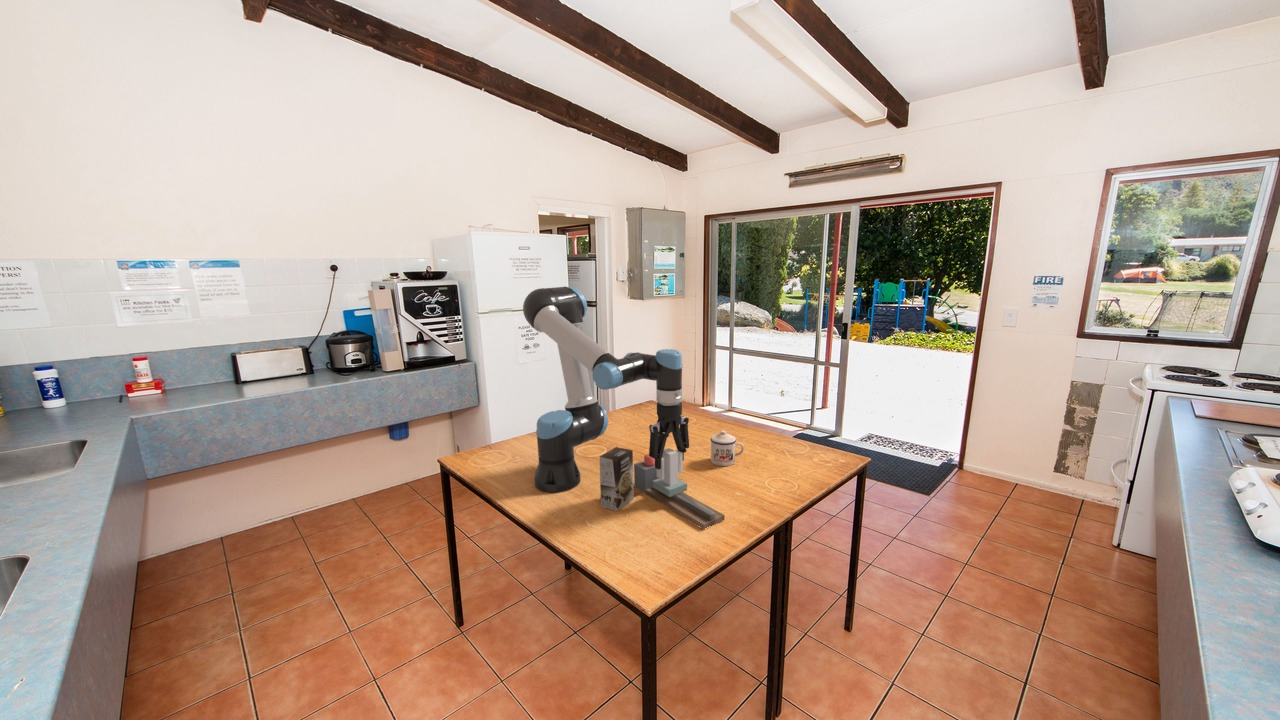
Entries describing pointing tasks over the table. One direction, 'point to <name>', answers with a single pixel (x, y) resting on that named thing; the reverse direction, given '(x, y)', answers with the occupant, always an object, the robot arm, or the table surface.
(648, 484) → the red push button box
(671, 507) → the rail base
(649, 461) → the button
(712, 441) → the teacup with lid
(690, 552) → the table surface
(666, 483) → the carriage
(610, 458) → the coffee box
